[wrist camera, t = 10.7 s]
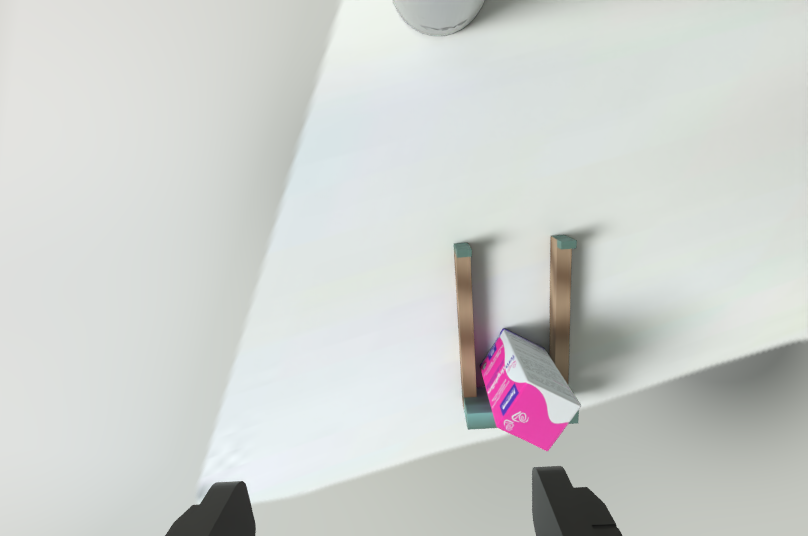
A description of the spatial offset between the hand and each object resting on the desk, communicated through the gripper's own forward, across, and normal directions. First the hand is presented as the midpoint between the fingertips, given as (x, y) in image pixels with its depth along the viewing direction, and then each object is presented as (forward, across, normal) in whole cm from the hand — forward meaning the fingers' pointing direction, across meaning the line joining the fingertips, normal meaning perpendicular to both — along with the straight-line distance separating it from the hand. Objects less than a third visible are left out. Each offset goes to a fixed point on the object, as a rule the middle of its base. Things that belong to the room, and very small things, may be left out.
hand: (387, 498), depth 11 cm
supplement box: (+33, -11, +14) cm, 38 cm away
